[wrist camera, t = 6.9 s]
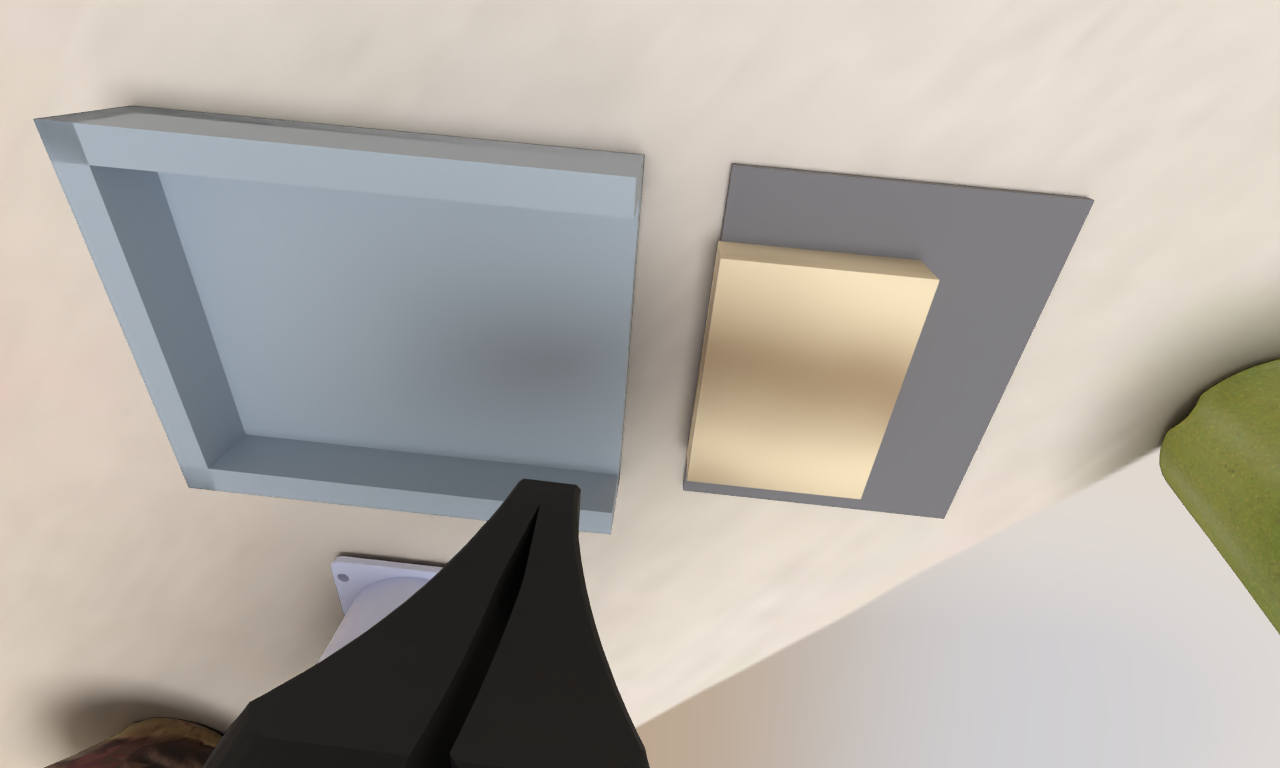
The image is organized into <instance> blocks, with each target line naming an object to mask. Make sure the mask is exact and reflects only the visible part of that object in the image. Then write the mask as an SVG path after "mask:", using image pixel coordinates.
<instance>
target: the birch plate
mask: <svg viewBox="0 0 1280 768" xmlns="http://www.w3.org/2000/svg"><path fill="white" fill-rule="evenodd" d="M939 281H940V280H939V279H938V278H937V277H936V276H935V275H934V274H933V273H932V272H931V271H930V270H929V269H928V268H927V267H926V266H925V265H924V264H923V263H922V262H921V261H920V260H911V259H901V258H891V257H881V256H870V255H860V254H850V253H839V252H829V251H819V250H808V249H798V248H788V247H777V246H767V245H757V244H746V243H736V242H726V241H718V246H717V253H716V260H715V267H714V274H713V280H712V287H711V294H710V301H709V307H708V314H707V321H706V328H705V334H704V341H703V348H702V355H701V361H700V368H699V375H698V382H697V389H696V395H695V402H694V409H693V416H692V422H691V429H690V436H689V443H688V449H687V481H693V482H703V483H712V484H721V485H731V486H740V487H749V488H759V489H768V490H777V491H787V492H796V493H806V494H815V495H824V496H834V497H843V498H852V499H861V497H862V494H863V492H864V489H865V486H866V483H867V480H868V478H869V475H870V472H871V469H872V467H873V464H874V461H875V458H876V455H877V453H878V450H879V447H880V444H881V442H882V439H883V436H884V433H885V431H886V428H887V425H888V422H889V419H890V417H891V414H892V411H893V408H894V406H895V403H896V400H897V397H898V394H899V392H900V389H901V386H902V383H903V381H904V378H905V375H906V372H907V370H908V367H909V364H910V361H911V358H912V356H913V353H914V350H915V347H916V345H917V342H918V339H919V336H920V333H921V331H922V328H923V325H924V322H925V320H926V317H927V314H928V311H929V309H930V306H931V303H932V300H933V297H934V295H935V292H936V289H937V286H938V284H939Z"/></svg>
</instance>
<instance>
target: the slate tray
mask: <svg viewBox="0 0 1280 768" xmlns="http://www.w3.org/2000/svg"><path fill="white" fill-rule="evenodd" d="M33 120H34V122H35V124H36V127H37V129H38V131H39V134H40V136H41V139H42V141H43V143H44V146H45V148H46V150H47V153H48V155H49V158H50V160H51V162H52V165H53V167H54V169H55V172H56V174H57V176H58V179H59V181H60V184H61V186H62V188H63V191H64V193H65V195H66V198H67V200H68V203H69V205H70V207H71V210H72V212H73V214H74V217H75V219H76V221H77V224H78V226H79V229H80V231H81V233H82V236H83V238H84V240H85V243H86V245H87V247H88V250H89V252H90V255H91V257H92V259H93V262H94V264H95V266H96V269H97V271H98V274H99V276H100V278H101V281H102V283H103V285H104V288H105V290H106V292H107V295H108V297H109V300H110V302H111V304H112V307H113V309H114V311H115V314H116V316H117V319H118V321H119V323H120V326H121V328H122V330H123V333H124V335H125V337H126V340H127V342H128V345H129V347H130V349H131V352H132V354H133V356H134V359H135V361H136V364H137V366H138V368H139V371H140V373H141V375H142V378H143V380H144V382H145V385H146V387H147V390H148V392H149V394H150V397H151V399H152V401H153V404H154V406H155V408H156V411H157V413H158V416H159V418H160V420H161V423H162V425H163V427H164V430H165V432H166V435H167V437H168V439H169V442H170V444H171V446H172V449H173V451H174V453H175V456H176V458H177V461H178V463H179V465H180V468H181V470H182V472H183V475H184V477H185V480H186V482H187V484H188V487H189V488H197V489H206V490H215V491H224V492H233V493H242V494H251V495H260V496H269V497H278V498H287V499H296V500H305V501H314V502H323V503H332V504H341V505H350V506H359V507H368V508H377V509H386V510H395V511H404V512H413V513H422V514H431V515H440V516H449V517H458V518H467V519H476V520H485V521H488V520H489V519H490V518H491V516H492V515H493V514H494V513H495V512H496V510H497V509H498V508H499V507H500V506H501V504H502V503H503V502H504V501H505V499H506V498H507V497H508V495H509V494H510V493H511V491H512V490H513V489H514V487H515V486H516V485H517V483H518V482H519V481H520V480H522V479H523V478H524V479H533V480H541V481H549V482H558V483H566V484H575V485H577V486H578V487H579V488H580V489H581V499H580V517H579V531H584V532H593V533H602V534H611V529H612V523H613V517H614V510H615V504H616V498H617V491H618V485H619V479H620V466H621V453H622V441H623V428H624V415H625V402H626V389H627V376H628V363H629V350H630V338H631V325H632V312H633V299H634V286H635V273H636V260H637V247H638V234H639V222H640V209H641V196H642V183H643V170H644V157H645V155H640V154H629V153H619V152H609V151H598V150H588V149H577V148H567V147H557V146H546V145H536V144H526V143H515V142H505V141H494V140H484V139H474V138H463V137H453V136H442V135H432V134H422V133H411V132H401V131H390V130H380V129H370V128H359V127H349V126H339V125H328V124H318V123H307V122H297V121H287V120H276V119H266V118H255V117H245V116H235V115H224V114H214V113H204V112H193V111H183V110H172V109H162V108H152V107H141V106H125V107H118V108H110V109H103V110H96V111H88V112H81V113H74V114H66V115H59V116H51V117H44V118H37V119H33Z"/></svg>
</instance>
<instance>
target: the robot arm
mask: <svg viewBox="0 0 1280 768" xmlns="http://www.w3.org/2000/svg"><path fill="white" fill-rule="evenodd" d="M580 499H581V489H580V488H579V487H578V486H577V485H575V484H566V483H558V482H549V481H541V480H533V479H524V478H523V479H522V480H520V481H519V482H518V483H517V485H516V486H515V487H514V489H513V490H512V491H511V493H510V494H509V495H508V497H507V498H506V499H505V501H504V502H503V503H502V504H501V506H500V507H499V508H498V509H497V510H496V512H495V513H494V514H493V515H492V516H491V518H490V519H489V520H488V521H487V522H486V523H485V524H484V526H483V527H482V528H481V529H480V530H479V531H478V532H477V533H476V534H475V536H474V537H473V538H472V539H471V540H470V541H469V542H468V543H467V544H466V545H465V546H464V547H463V548H462V549H461V550H460V551H459V552H458V553H457V554H456V555H455V556H454V557H453V558H452V559H451V560H450V561H449V562H448V563H447V564H446V565H445V566H444V567H436V566H427V565H418V564H409V563H400V562H391V561H382V560H374V559H365V558H356V557H347V556H339V557H336V558H335V559H334V561H333V562H332V564H331V571H332V574H333V578H334V581H335V585H336V588H337V592H338V595H339V599H340V602H341V606H342V610H343V613H344V619H343V620H342V622H341V624H340V625H339V627H338V629H337V630H336V632H335V634H334V635H333V637H332V639H331V641H330V642H329V644H328V646H327V647H326V649H325V651H324V652H323V654H322V656H321V658H320V659H319V661H318V663H317V664H316V665H314V666H313V667H311V668H310V669H308V670H306V671H305V672H303V673H301V674H299V675H298V676H296V677H294V678H292V679H291V680H289V681H287V682H285V683H284V684H282V685H280V686H278V687H276V688H275V689H273V690H271V691H269V692H268V693H266V694H264V695H262V696H261V697H259V698H257V699H255V700H253V701H251V702H249V704H248V705H247V706H246V708H245V709H244V710H243V712H242V713H241V714H240V715H239V717H238V718H237V719H236V720H235V721H234V722H233V724H232V725H231V726H230V728H229V729H228V730H227V732H226V733H225V734H224V736H223V737H222V738H221V740H220V741H219V743H218V744H217V746H216V747H215V749H214V750H213V752H212V753H211V755H210V756H209V758H208V759H207V761H206V762H205V764H204V765H203V767H202V768H650V767H649V763H648V760H647V756H646V751H645V747H644V745H643V744H642V741H641V739H640V737H639V735H638V733H637V731H636V729H635V727H634V725H633V722H632V720H631V718H630V716H629V714H628V712H627V709H626V707H625V705H624V702H623V700H622V698H621V695H620V693H619V691H618V688H617V686H616V683H615V680H614V678H613V675H612V672H611V670H610V667H609V664H608V661H607V659H606V656H605V653H604V651H603V648H602V644H601V641H600V638H599V635H598V632H597V628H596V625H595V621H594V618H593V614H592V610H591V606H590V602H589V598H588V594H587V589H586V584H585V579H584V574H583V568H582V562H581V555H580V547H579V538H578V535H579V517H580Z"/></svg>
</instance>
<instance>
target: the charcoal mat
mask: <svg viewBox="0 0 1280 768" xmlns="http://www.w3.org/2000/svg"><path fill="white" fill-rule="evenodd" d="M1093 202H1094V200H1093V199H1090V198H1086V197H1076V196H1066V195H1055V194H1045V193H1035V192H1024V191H1014V190H1003V189H993V188H983V187H972V186H962V185H951V184H941V183H931V182H920V181H910V180H899V179H889V178H879V177H868V176H858V175H848V174H837V173H827V172H816V171H806V170H796V169H785V168H775V167H764V166H754V165H744V164H733V163H732V168H731V174H730V181H729V188H728V194H727V201H726V207H725V214H724V221H723V227H722V234H721V240H720V241H726V242H736V243H746V244H757V245H767V246H777V247H788V248H798V249H808V250H819V251H829V252H839V253H850V254H860V255H870V256H881V257H891V258H901V259H911V260H920V261H921V262H922V263H923V264H924V265H925V266H926V267H927V268H928V269H929V270H930V271H931V272H932V273H933V274H934V275H935V276H936V277H937V278H938V279H939V280H940V281H939V284H938V286H937V289H936V292H935V295H934V297H933V300H932V303H931V306H930V309H929V311H928V314H927V317H926V320H925V322H924V325H923V328H922V331H921V333H920V336H919V339H918V342H917V345H916V347H915V350H914V353H913V356H912V358H911V361H910V364H909V367H908V370H907V372H906V375H905V378H904V381H903V383H902V386H901V389H900V392H899V394H898V397H897V400H896V403H895V406H894V408H893V411H892V414H891V417H890V419H889V422H888V425H887V428H886V431H885V433H884V436H883V439H882V442H881V444H880V447H879V450H878V453H877V455H876V458H875V461H874V464H873V467H872V469H871V472H870V475H869V478H868V480H867V483H866V486H865V489H864V492H863V494H862V497H861V499H852V498H843V497H834V496H824V495H815V494H806V493H796V492H787V491H777V490H768V489H759V488H749V487H740V486H731V485H721V484H712V483H703V482H693V481H687V464H686V470H685V477H684V483H683V490H685V491H694V492H704V493H713V494H722V495H731V496H740V497H749V498H759V499H768V500H777V501H786V502H795V503H804V504H814V505H823V506H832V507H841V508H850V509H859V510H869V511H878V512H887V513H896V514H905V515H915V516H924V517H933V518H942V519H944V518H945V515H946V513H947V511H948V509H949V507H950V505H951V503H952V501H953V499H954V496H955V494H956V492H957V490H958V488H959V486H960V484H961V482H962V480H963V477H964V475H965V473H966V471H967V469H968V467H969V465H970V463H971V460H972V458H973V456H974V454H975V452H976V450H977V448H978V446H979V444H980V441H981V439H982V437H983V435H984V433H985V431H986V429H987V427H988V425H989V422H990V420H991V418H992V416H993V414H994V412H995V410H996V408H997V405H998V403H999V401H1000V399H1001V397H1002V395H1003V393H1004V391H1005V389H1006V386H1007V384H1008V382H1009V380H1010V378H1011V376H1012V374H1013V372H1014V370H1015V367H1016V365H1017V363H1018V361H1019V359H1020V357H1021V355H1022V353H1023V351H1024V348H1025V346H1026V344H1027V342H1028V340H1029V338H1030V336H1031V334H1032V331H1033V329H1034V327H1035V325H1036V323H1037V321H1038V319H1039V317H1040V315H1041V312H1042V310H1043V308H1044V306H1045V304H1046V302H1047V300H1048V298H1049V296H1050V293H1051V291H1052V289H1053V287H1054V285H1055V283H1056V281H1057V279H1058V277H1059V274H1060V272H1061V270H1062V268H1063V266H1064V264H1065V262H1066V260H1067V257H1068V255H1069V253H1070V251H1071V249H1072V247H1073V245H1074V243H1075V241H1076V238H1077V236H1078V234H1079V232H1080V230H1081V228H1082V226H1083V224H1084V222H1085V219H1086V217H1087V215H1088V213H1089V211H1090V209H1091V207H1092V205H1093Z"/></svg>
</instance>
